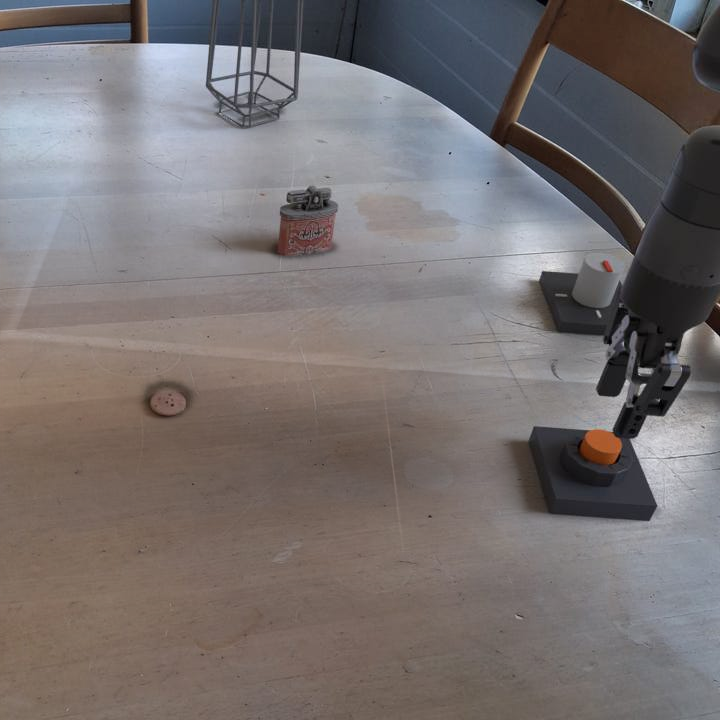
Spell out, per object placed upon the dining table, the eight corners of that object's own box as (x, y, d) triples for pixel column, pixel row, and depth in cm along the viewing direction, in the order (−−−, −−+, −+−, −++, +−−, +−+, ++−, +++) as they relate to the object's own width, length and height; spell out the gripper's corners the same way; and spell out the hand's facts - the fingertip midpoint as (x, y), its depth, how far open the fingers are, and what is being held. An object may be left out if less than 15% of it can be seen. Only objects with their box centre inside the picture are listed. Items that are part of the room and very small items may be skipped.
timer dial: (567, 286, 115) (580, 249, 112) (604, 288, 116) (619, 251, 112) (577, 307, 112) (590, 269, 108) (615, 309, 112) (630, 271, 108)
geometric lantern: (260, 94, 165) (276, -134, 141) (312, 125, 156) (339, -113, 132) (187, 109, 158) (190, -129, 134) (237, 143, 149) (251, -106, 125)
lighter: (324, 248, 125) (334, 179, 118) (335, 260, 123) (345, 190, 116) (271, 256, 123) (277, 186, 116) (281, 268, 120) (288, 198, 114)
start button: (610, 443, 92) (616, 430, 91) (620, 467, 89) (626, 454, 88) (575, 440, 92) (581, 427, 91) (584, 464, 89) (589, 451, 88)
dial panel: (610, 296, 120) (618, 275, 118) (635, 348, 112) (644, 326, 109) (535, 290, 120) (542, 269, 118) (554, 342, 111) (562, 320, 109)
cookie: (152, 419, 96) (152, 411, 95) (148, 395, 99) (147, 388, 98) (188, 416, 97) (188, 409, 96) (183, 393, 100) (183, 385, 99)
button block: (620, 448, 97) (633, 419, 95) (649, 521, 89) (664, 492, 87) (528, 441, 97) (538, 412, 94) (549, 514, 89) (561, 485, 86)
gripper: (760, 309, 71) (676, 467, 82) (699, 221, 81) (632, 372, 93) (664, 302, 70) (594, 461, 82) (616, 215, 81) (560, 367, 93)
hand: (614, 413), depth 87 cm, fingers open, 5 cm apart
